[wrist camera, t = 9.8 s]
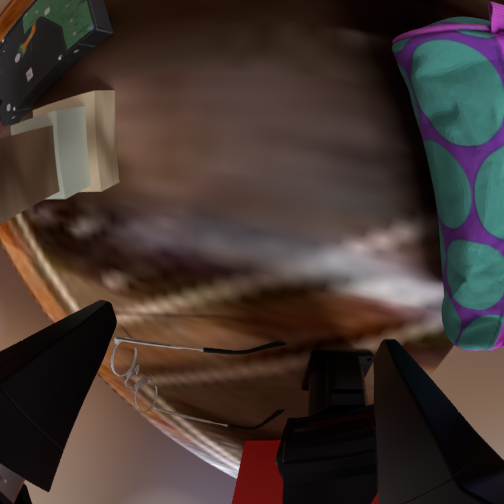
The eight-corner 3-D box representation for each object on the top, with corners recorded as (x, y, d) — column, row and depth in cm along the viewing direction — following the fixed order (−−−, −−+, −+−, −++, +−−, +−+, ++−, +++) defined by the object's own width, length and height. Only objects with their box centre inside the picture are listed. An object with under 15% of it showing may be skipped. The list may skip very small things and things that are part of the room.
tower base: (122, 180, 20) (101, 191, 18) (62, 182, 21) (41, 193, 19) (118, 90, 17) (94, 90, 14) (56, 106, 18) (32, 110, 15)
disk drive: (22, 123, 19) (119, 32, 14) (3, 129, 16) (97, 27, 12) (7, 55, 15) (96, -37, 10) (-11, 57, 12) (77, -44, 8)
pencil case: (500, 268, 18) (551, 335, 10) (426, 299, 21) (464, 384, 13) (461, 33, 10) (544, 12, 2) (362, 45, 13) (419, -5, 5)
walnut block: (59, 191, 15) (-7, 229, 10) (24, 193, 15) (-34, 225, 10) (52, 125, 13) (-21, 146, 7) (17, 135, 13) (-46, 158, 8)
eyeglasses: (115, 314, 28) (93, 344, 24) (286, 329, 25) (282, 371, 21) (156, 395, 36) (144, 421, 31) (284, 412, 33) (281, 444, 28)
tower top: (91, 185, 18) (65, 198, 15) (44, 187, 18) (20, 199, 16) (85, 105, 15) (56, 110, 12) (37, 119, 16) (10, 126, 13)
